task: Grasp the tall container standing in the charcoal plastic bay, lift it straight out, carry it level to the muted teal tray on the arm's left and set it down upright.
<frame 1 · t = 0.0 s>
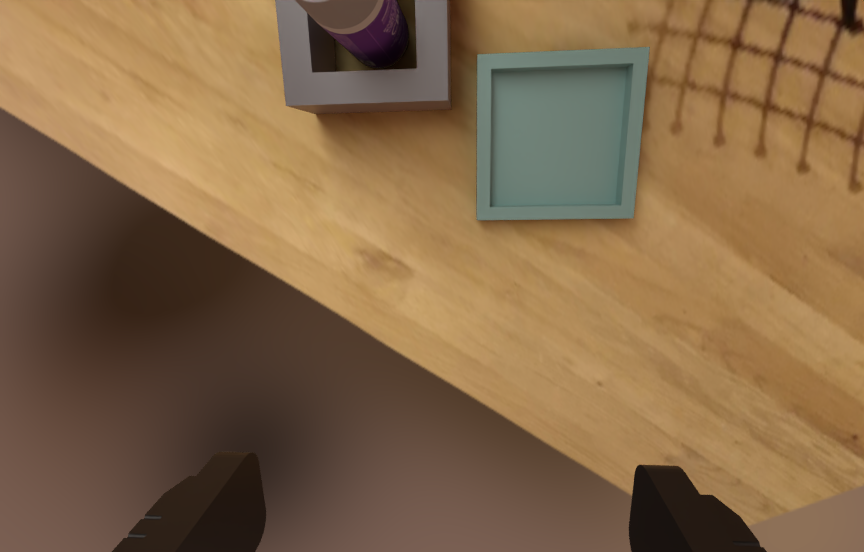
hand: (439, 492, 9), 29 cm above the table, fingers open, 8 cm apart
bay: (378, 35, 34), on the table
tray: (552, 139, 35), on the table
container: (379, 36, 34), resting in bay
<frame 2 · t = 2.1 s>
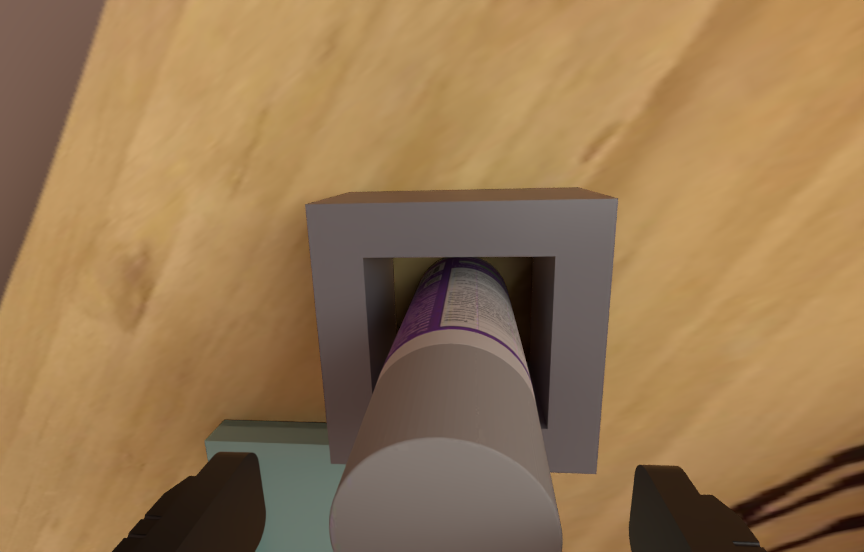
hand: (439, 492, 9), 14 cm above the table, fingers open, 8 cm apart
bay: (462, 298, 23), on the table
tray: (332, 509, 27), on the table
container: (462, 297, 23), resting in bay
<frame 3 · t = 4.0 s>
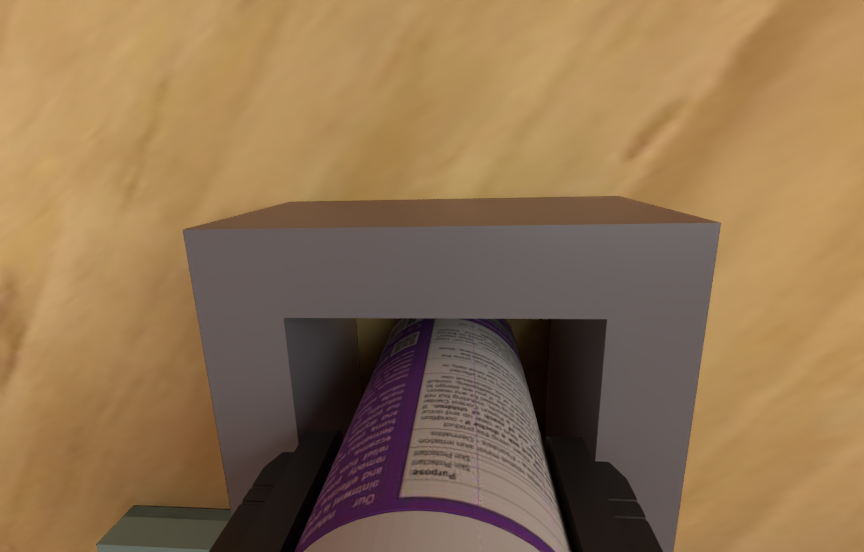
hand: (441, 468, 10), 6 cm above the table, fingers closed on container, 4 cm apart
bay: (451, 350, 16), on the table
container: (452, 348, 16), resting in bay, touching gripper
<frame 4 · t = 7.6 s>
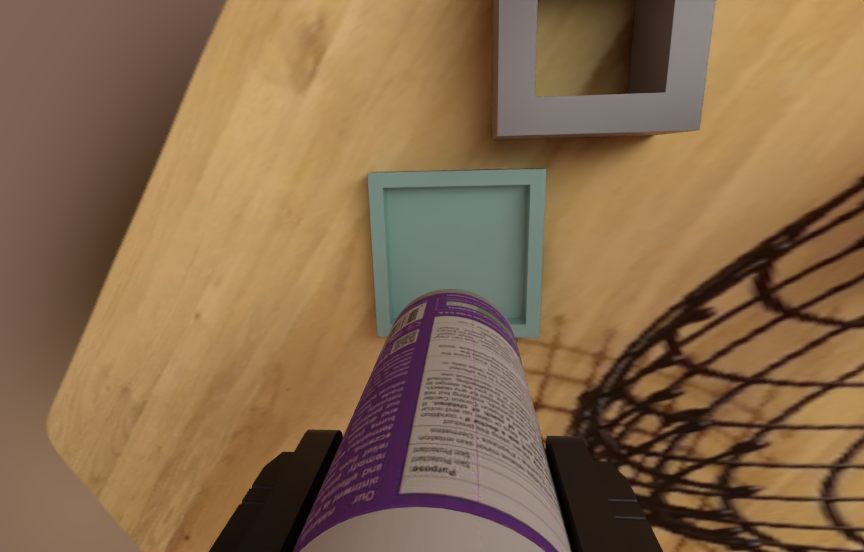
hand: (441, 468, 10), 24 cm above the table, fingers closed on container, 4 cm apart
bay: (576, 50, 29), on the table
tray: (456, 252, 33), on the table
container: (451, 346, 16), point 17 cm above the table, touching gripper
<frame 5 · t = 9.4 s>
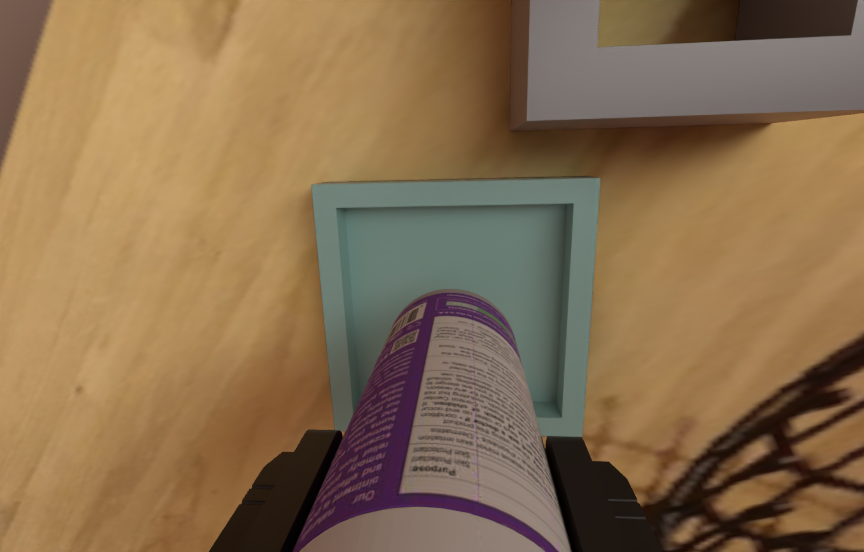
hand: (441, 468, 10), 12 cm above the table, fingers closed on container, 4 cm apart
tray: (455, 303, 22), on the table
container: (451, 346, 16), point 6 cm above the table, touching gripper
when the fingers open (8 cm above the table, at t = 11.2 s): container stays where it is, resting on tray.
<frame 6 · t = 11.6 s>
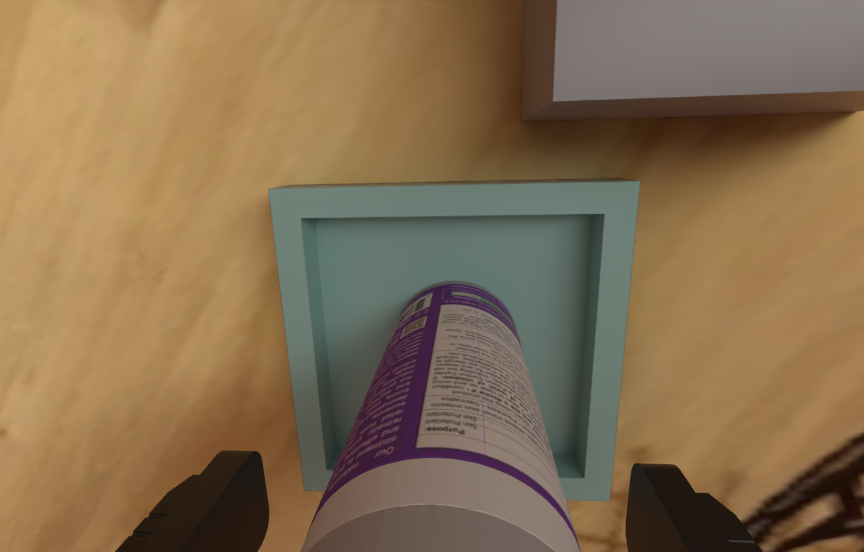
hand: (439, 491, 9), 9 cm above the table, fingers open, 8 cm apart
tray: (452, 334, 18), on the table
container: (455, 335, 17), resting on tray
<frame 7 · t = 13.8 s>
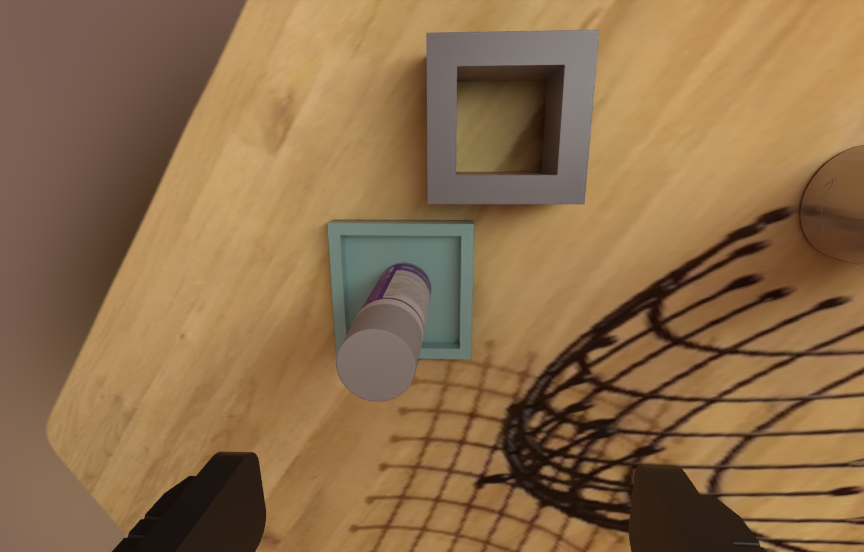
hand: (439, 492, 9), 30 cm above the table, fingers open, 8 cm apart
bay: (499, 127, 36), on the table
tray: (404, 287, 40), on the table
container: (405, 287, 39), resting on tray
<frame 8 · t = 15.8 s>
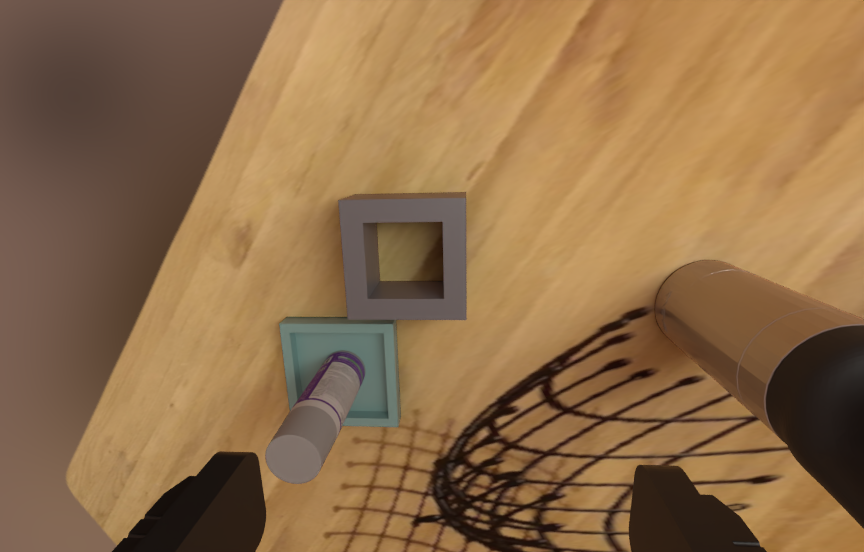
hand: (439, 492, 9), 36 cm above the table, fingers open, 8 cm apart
bay: (412, 248, 45), on the table
tray: (345, 367, 49), on the table
container: (345, 368, 49), resting on tray
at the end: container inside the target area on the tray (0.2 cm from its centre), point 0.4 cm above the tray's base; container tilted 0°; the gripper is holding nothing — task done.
